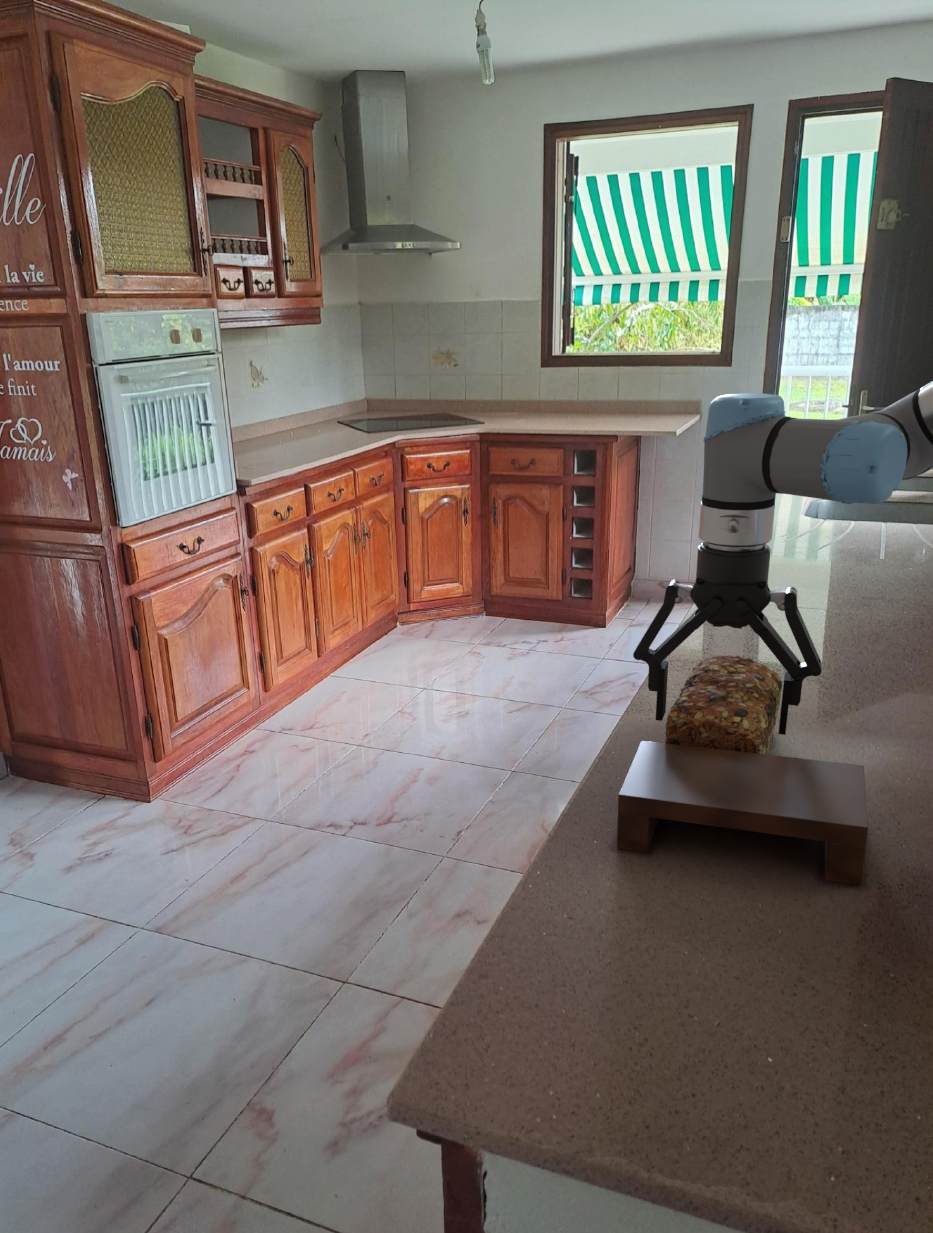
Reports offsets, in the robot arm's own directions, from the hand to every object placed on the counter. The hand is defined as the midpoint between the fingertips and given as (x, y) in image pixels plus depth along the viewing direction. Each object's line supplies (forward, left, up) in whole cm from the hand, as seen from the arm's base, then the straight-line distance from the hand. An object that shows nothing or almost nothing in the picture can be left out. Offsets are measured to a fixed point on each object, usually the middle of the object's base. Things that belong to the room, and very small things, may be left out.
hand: (720, 723), depth 111 cm
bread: (-1, 0, -4) cm, 4 cm away
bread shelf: (-4, +18, -4) cm, 19 cm away
